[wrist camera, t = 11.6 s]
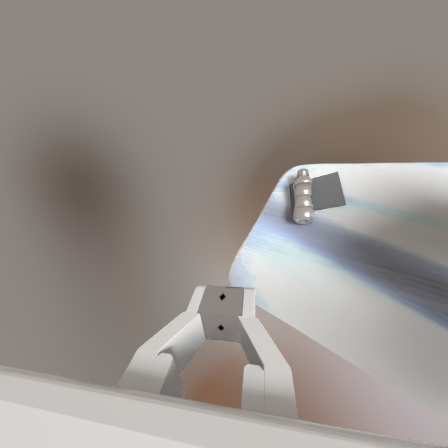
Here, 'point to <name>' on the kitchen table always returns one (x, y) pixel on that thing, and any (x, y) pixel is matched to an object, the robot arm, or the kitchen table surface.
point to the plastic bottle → (303, 198)
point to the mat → (324, 192)
